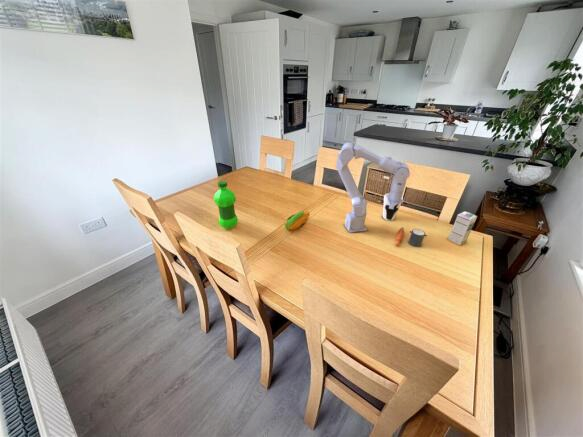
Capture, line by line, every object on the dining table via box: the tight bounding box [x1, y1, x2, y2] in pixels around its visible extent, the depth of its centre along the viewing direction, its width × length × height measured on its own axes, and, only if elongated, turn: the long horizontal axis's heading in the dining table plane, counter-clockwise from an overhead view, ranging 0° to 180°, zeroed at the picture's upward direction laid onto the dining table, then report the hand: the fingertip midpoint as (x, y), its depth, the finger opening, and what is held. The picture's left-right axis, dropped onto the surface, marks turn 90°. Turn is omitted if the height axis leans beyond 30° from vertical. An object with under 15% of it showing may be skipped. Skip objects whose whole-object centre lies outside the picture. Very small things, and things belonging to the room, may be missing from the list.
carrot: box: [395, 227, 405, 247], centre depth 115 cm, size 16×3×3 cm, turn 150°
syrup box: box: [447, 211, 478, 246], centre depth 110 cm, size 6×6×14 cm
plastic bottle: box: [213, 180, 239, 230], centre depth 118 cm, size 10×10×25 cm
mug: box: [408, 228, 428, 248], centre depth 110 cm, size 6×7×6 cm
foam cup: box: [382, 192, 404, 221], centre depth 129 cm, size 10×9×13 cm
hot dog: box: [284, 210, 310, 232], centre depth 124 cm, size 7×8×20 cm
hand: (390, 215), depth 115 cm, fingers open, 7 cm apart
